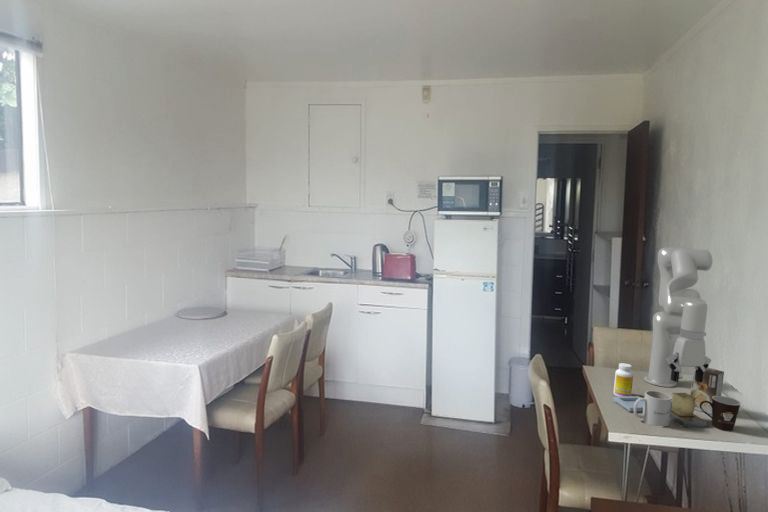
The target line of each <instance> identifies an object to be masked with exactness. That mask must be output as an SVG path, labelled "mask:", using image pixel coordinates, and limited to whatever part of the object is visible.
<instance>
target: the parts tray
mask: <svg viewBox="0 0 768 512" xmlns="http://www.w3.org/2000/svg"><path fill="white" fill-rule="evenodd" d="M639 398H642V397H640V396H639V395H637V396H632V395H631V396H612V402H614V403H615V404H617V405H618V406H620V407H621V408H622V407H623V409H624V410H625V409H626V410H625V411H629V412H628V413H634V404H635V402H636V400H637V399H639ZM643 406H644V401H640V402H639V403H638V405H637V413H643Z"/></svg>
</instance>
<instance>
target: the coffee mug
mask: <svg viewBox="0 0 768 512" xmlns="http://www.w3.org/2000/svg"><path fill="white" fill-rule="evenodd" d="M705 402H707V403H709V404H710V405H711V407H712V415H711V414H708V413H706V412H705V411H704V410H703V409H702V407H701V405H702V404H703V403H705ZM700 408H701V410H702V411H703V412H702V411H701V412H702V413H704V414H705V415H706V416H708V417H709V418H710V419H711V424H712V425H711V426H712V427H713V428H715V429H717V430H720V431H724V432H733V430H734V429H735V425H736V422H737V417H738V414H739V412H740V411H739V410H740V408H741V402H740V401H739V400H737V399H735V398H732V397H728V396H724V395H721V396H713V397H712V403H711V402H709V401H702V402H701V403H700Z"/></svg>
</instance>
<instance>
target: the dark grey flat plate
mask: <svg viewBox="0 0 768 512" xmlns="http://www.w3.org/2000/svg"><path fill="white" fill-rule="evenodd" d="M671 408H672V401H671ZM669 420H671V421H672V420H673V421H672V422H674V423H676V424H677V425H679V426H680V425H681V427H682V426H683V427H682V428H707V424H708V421H707V420H705V419H703V418H702V417H700V416H698V415H697V414H694V413H693V417H685V418H680V417H678V416H677V415H675V414H673V413H672V412H671V409H670V417H669Z"/></svg>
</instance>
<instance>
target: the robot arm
mask: <svg viewBox="0 0 768 512" xmlns="http://www.w3.org/2000/svg"><path fill="white" fill-rule="evenodd" d="M657 265H658V269H659V272H660V273H659V274H660V281H659V282H660V283H659V290H658V291H659V293H658V304H659V306H660V307H661V308H663V310H664V311H657V312H655V313H654V314H653V317H652V340H651V341H652V342H651V351H650V357H649V358H650V359H649V368H648V374H646V375H645V376H644V377H643V379H644V381H645V382H646V383H648V384H651V385H654V386H658V387H666V388H672V387H675V386H677V383H679V380H683V377H684V376H683V375H682V374H680V369H681V368H683V367H684V368H685V367H686V368H687V367H689V368H695V367H697V369H698V370H697V369H696V371H695V380H696V381H698V382H700V383H702V381H703V372H705V371H706V369H707V368H709V366H710V364H711V363H712V359H711V358H710V357H708V356H706V342H705V341H706V340H705V337H706V335H707V332H705V331H706V330H705V329H706V323H707V317H708V316H707V315H708V304H707V302H706V301H705V300H704V299H702V298H701V295H700V292H699V291H698V290H697V289H694V288H691V287H693V286H695V285H696V284H697V283H698V281H699V275H698V271H702V272H707V271H710V269H712V266H713V256H712V254H711V252H710V251H709V250H707V249H701V248H686V247H673V246H671V247H670V246H669V247H662V248H660V249H659V251H658V253H657ZM672 335H675V336H677V338H676V339H674V338H673V337H672Z"/></svg>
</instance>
